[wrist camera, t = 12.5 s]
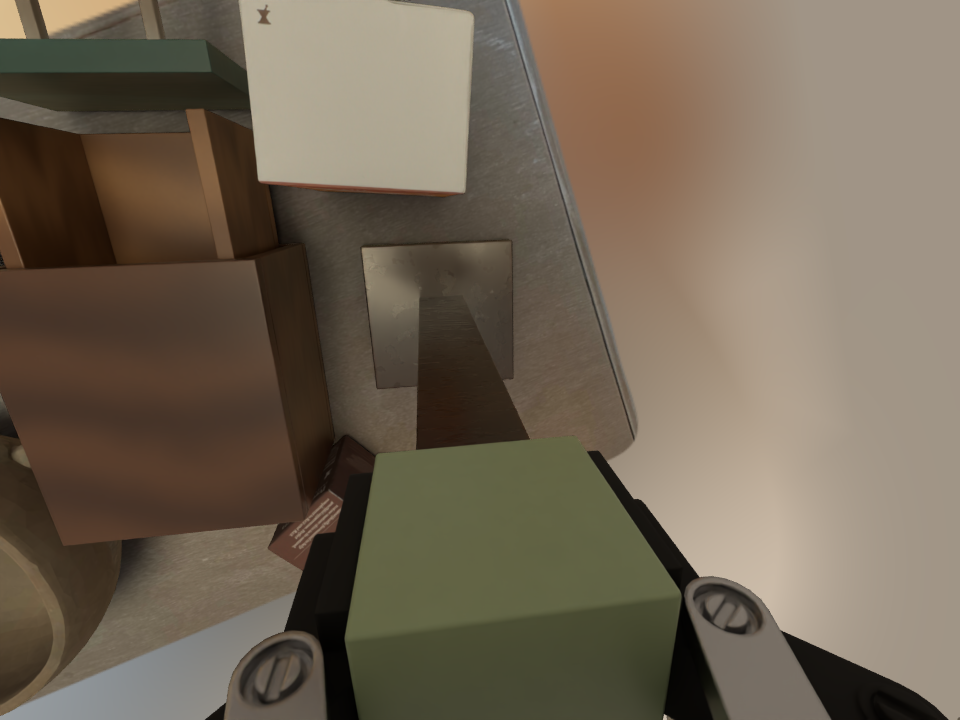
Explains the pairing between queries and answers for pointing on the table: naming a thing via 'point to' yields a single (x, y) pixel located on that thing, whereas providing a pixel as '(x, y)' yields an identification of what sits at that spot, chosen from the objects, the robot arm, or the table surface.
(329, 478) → the box
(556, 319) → the table surface
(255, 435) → the cabinet
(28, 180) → the drawer
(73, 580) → the bowl
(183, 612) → the table surface
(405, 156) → the small box
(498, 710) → the block
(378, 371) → the stand
